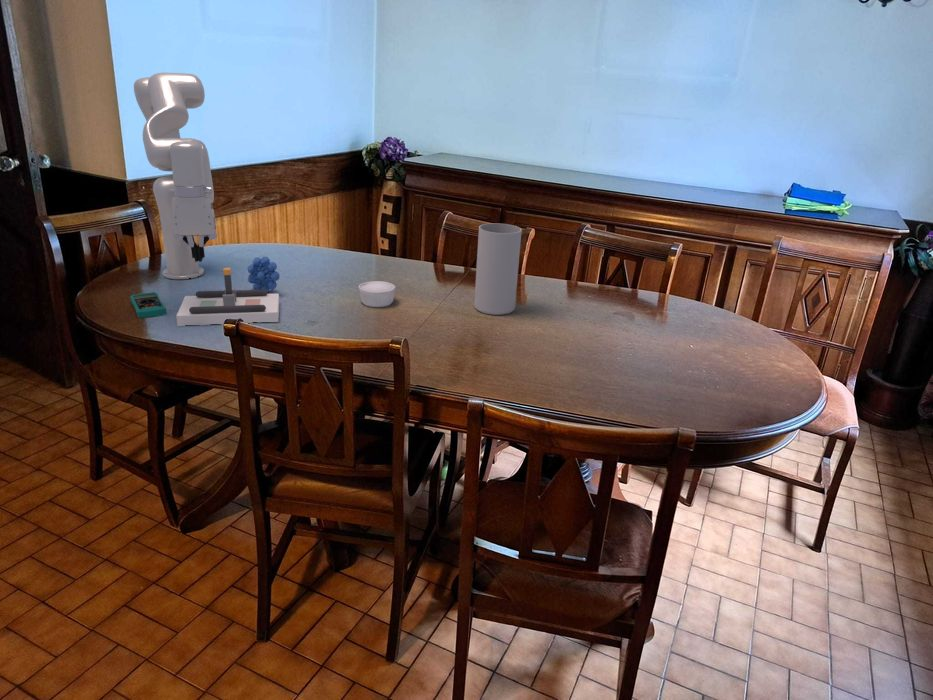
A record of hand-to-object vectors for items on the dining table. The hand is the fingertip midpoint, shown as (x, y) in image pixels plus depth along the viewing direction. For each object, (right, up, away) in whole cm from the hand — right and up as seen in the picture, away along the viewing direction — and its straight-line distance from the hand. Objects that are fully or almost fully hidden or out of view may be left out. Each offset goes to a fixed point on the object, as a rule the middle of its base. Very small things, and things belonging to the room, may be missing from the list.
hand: (198, 260), depth 176 cm
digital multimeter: (-18, -13, +10) cm, 24 cm away
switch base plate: (+6, -14, +9) cm, 17 cm away
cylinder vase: (+81, -12, +24) cm, 85 cm away
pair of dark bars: (+6, -11, +7) cm, 15 cm away
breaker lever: (+6, -11, +7) cm, 14 cm away
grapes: (+10, -7, +27) cm, 29 cm away
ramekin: (+45, -10, +24) cm, 52 cm away
